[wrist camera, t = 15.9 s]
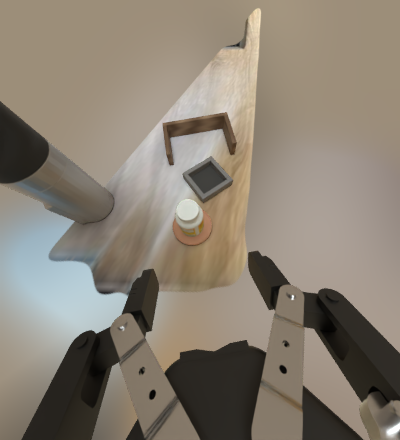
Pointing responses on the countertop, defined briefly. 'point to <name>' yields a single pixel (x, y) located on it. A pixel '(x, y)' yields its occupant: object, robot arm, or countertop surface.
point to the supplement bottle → (189, 217)
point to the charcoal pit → (207, 179)
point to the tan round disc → (195, 239)
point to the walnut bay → (198, 130)
